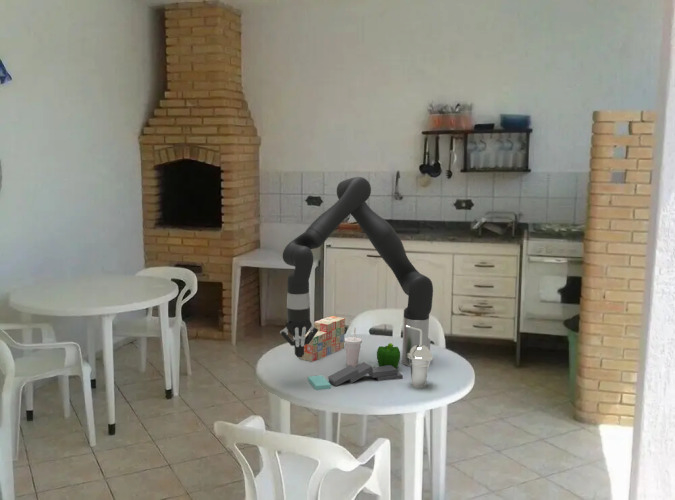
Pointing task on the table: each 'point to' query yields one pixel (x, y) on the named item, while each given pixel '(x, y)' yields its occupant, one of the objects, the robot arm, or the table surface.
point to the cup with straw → (419, 362)
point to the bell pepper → (388, 355)
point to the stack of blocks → (325, 338)
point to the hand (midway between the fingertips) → (299, 356)
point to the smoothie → (352, 349)
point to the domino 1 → (319, 382)
